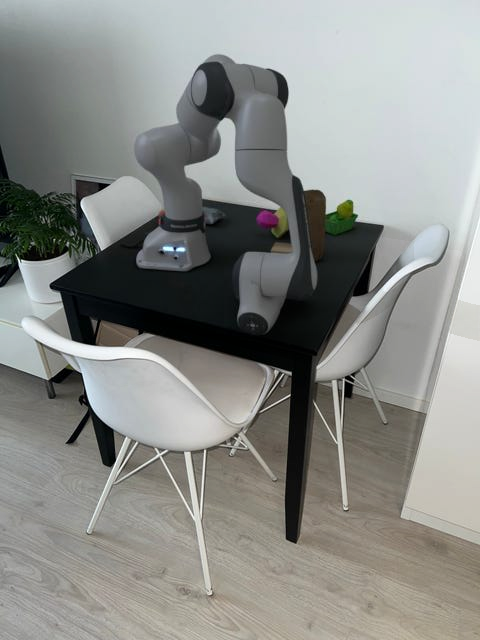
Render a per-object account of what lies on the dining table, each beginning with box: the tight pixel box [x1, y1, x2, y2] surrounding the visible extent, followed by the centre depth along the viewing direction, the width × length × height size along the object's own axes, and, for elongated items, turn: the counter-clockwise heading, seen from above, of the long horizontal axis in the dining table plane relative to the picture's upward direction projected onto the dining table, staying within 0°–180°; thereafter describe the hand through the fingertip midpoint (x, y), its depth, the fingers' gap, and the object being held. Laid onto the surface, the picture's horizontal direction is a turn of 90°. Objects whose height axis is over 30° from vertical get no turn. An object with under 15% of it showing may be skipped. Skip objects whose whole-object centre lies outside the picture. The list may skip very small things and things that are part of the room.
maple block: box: [270, 241, 292, 254], centre depth 138 cm, size 6×6×11 cm
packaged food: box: [203, 206, 226, 225], centre depth 179 cm, size 9×12×5 cm
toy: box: [256, 206, 290, 239], centre depth 168 cm, size 10×18×10 cm, turn 108°
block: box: [304, 189, 327, 263], centre depth 150 cm, size 11×8×20 cm
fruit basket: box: [325, 199, 359, 236], centre depth 169 cm, size 11×9×11 cm
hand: (280, 267), depth 135 cm, fingers open, 8 cm apart
